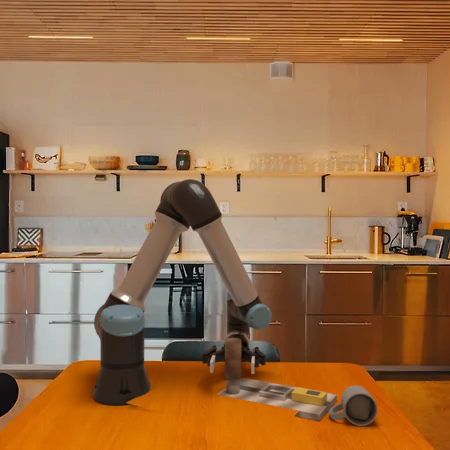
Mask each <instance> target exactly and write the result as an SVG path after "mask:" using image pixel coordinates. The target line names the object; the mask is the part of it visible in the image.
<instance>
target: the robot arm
mask: <svg viewBox="0 0 450 450" xmlns="http://www.w3.org/2000/svg"><path fill="white" fill-rule="evenodd" d="M159 201H160V202H159V204H158V206H157V207H156V210H155V211H154V217H155V221H154V223H153V225H152V227H151V228H150V231H149V233H148V235H147V236H146V238H145V240H144V242H143V243H142V245H141V247H140V249H139V250H138V252H137V254H136V257H135V258H134V259H133V262H132V264H131V265H130V267H129V269H128V271H127V273H126V274H125V276H124V278H123V280H122V282H121V284H120V285H119V287H118V289H116V290H114V291H111V292H110V293H109V294H108V296H107V298H106V300H105V302H104V303H103V304H102V305H100V307H99V308H98V309H97V311H96V313H95V315H94V320H93V326H94V330H95V333H96V335H97V337H98V339H99V340H100V343H99V344H100V352H99V353H100V358H99V359H100V364H99V365H100V366H99V371H98V374H97V378H96V382H95V384H94V387H93V399H94V400H95V401H96V402H97V403H100V404H103V405H111V406H113V405H114V406H118V405H121V406H122V405H129V403H128V402H130V401H132V400H134V399H136V398H140V397H142V396H145V395H146V394H148V393H149V392H150V391H151V389H152V388H151V383H150V380H149V377H148V374H147V369H146V367H145V325H146V319H145V311H146V307H145V301H146V299H147V297H148V295H149V294H150V291H151V289H152V288H153V286H154V284H155V282H156V280H157V279H158V276H159V275H160V273H161V271H162V269H163V267H164V265H165V264H166V261H167V260H168V258H169V256H170V254H171V253H172V250H173V248H174V247H175V245H176V243H177V241H178V239H179V238H180V236H181V234H182V233H185V232H188V231H189V229H190V228H191V230H192V231H193V232H196V233H197V234H198V235H199V237H200V239H201V241H202V244H203V245H204V247H205V249H206V251H207V253H208V255H209V257H210V259H211V261H212V263H213V265H214V266H215V268H216V270H217V272H218V274H219V276H220V278H221V280H222V282H223V284H224V286H225V288H226V289H227V293H226V338H225V339H227V338H239V339H241V361H246V362H249V364H251V366H250V367H251V370H250V371H251V372H250V374H252V375H255V368H256V369H257V368H258V369H259V367H260V365H261V366H265V365H266V360H267V359H266V355H265V353H264V352H262V351H261V349H260V346H259V347H258V346H255V347H252V349H251V348H250V340H251V329H254V330H259V331H261V330H264V329H266V328H267V327H269V325H270V324H271V322H272V318H273V314H272V313H273V312H272V310H271V309H270V307H268V306H267V305H266V304H265V303H263V302H262V300H261V298H260V295H259V293H258V292H257V290H256V288H255V285H254V284H253V282H252V280H251V278H250V276H249V274H248V272H247V270H246V268H245V266H244V265H243V262H242V260H241V258H240V256H239V254H238V251H237V249H235V246H234V244H233V242H232V240H231V237H230V236H229V234H228V232H227V229H226V228H225V225H224V223H223V222H222V219H223V213H222V212H221V210H220V208H219V206H218V204H217V202H216V200H215V198H214V197H213V194H212V193H211V191H210V189H209V188H208V187H207V186H206V185H205V184H204V183H203V182H201V181H199V180H197V179H194V178H193V179H191V178H189V179H183V180H181V181H180V180H179V181H175V182H173V183H169V185H168V186H166V187H165V189H164V190H163V192H162V193H161V196H160V198H159ZM201 358H202V361H201V362H202V364H206V366H207V367H208V368H209V373H211V374H213V373H214V370H215V368H216V363H219V362H221V361H223V360H224V361H225V342H224V344H223V346H221V348H219V347H218V346H217V345H212V347H211V348H210V349H208V350H206V351H205V352H203V353H202V357H201Z"/></svg>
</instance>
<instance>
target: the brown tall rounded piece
mask: <svg viewBox="0 0 450 450" xmlns="http://www.w3.org/2000/svg"><path fill="white" fill-rule="evenodd" d="M224 343H225V360H224V378H225V379H226V380H225V388H226V392H227V393H228V394H238V393H239V392H240V379H241V378H242V360H241V339H239V338H227V339H226V338H225V339H224Z"/></svg>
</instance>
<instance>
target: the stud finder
mask: <svg viewBox="0 0 450 450" xmlns="http://www.w3.org/2000/svg"><path fill="white" fill-rule="evenodd" d="M327 393H328V392H326V391H321V390H315V389H310V388H305V387H299V386H297V388H296V389H295V390H294V391H293V392H292V400H293V401H299V402H304V403H309V404H314V405H319V406H323V405H324V403H325V402H326V401H327Z"/></svg>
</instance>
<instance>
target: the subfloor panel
mask: <svg viewBox="0 0 450 450" xmlns="http://www.w3.org/2000/svg"><path fill="white" fill-rule="evenodd" d="M297 387H298V386H297ZM297 387H295V386H291V385H286V384H279V383H275V382H274V383H273V382H268V381H263V380H257V379H252V378H251V379H250V378H246V377H241V378H240V392H239V393H238V394H228V393H227V392H226V387H225V388H224V389H222V390H221V391H219V392H217V393H216V395H219V396H223V397H229V398H234V399H239V400H243V401H250V402H253V403H259V404H263V405H267V406H268V405H269V406H274V407H278V408H283V409H289V410H293V411H298V412H297V413H296V414H295V415H294V417H297V418H303V419H307V420H312V421H316V422H320V421H321V420H322V419H323V417H325V415H326V414H327V413H329V410H330V409H331V408H332V407H333V406H334V404H335V403H336V402H337V401H338V399H337V397H338V394H335V393H334V394H333V393H330V392H327V401H326V402H325V403H324V405H323V406H319V405H314V404H309V403H304V402H299V401H293V400H292V392H293V391H294V390H295V389H296V388H297Z"/></svg>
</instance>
